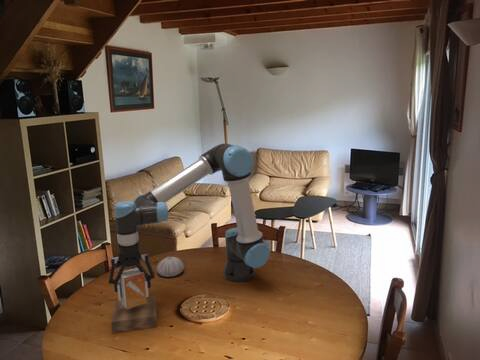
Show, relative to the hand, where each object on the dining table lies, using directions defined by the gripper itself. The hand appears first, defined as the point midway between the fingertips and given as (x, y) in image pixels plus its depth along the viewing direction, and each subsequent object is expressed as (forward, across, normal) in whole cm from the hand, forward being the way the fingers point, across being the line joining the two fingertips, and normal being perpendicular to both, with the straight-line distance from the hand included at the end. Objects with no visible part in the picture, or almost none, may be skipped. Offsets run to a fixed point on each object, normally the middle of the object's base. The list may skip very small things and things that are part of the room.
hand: (133, 297), depth 157 cm
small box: (+3, 0, 0) cm, 3 cm away
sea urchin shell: (+10, -15, -39) cm, 43 cm away
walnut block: (+10, 0, 0) cm, 10 cm away
